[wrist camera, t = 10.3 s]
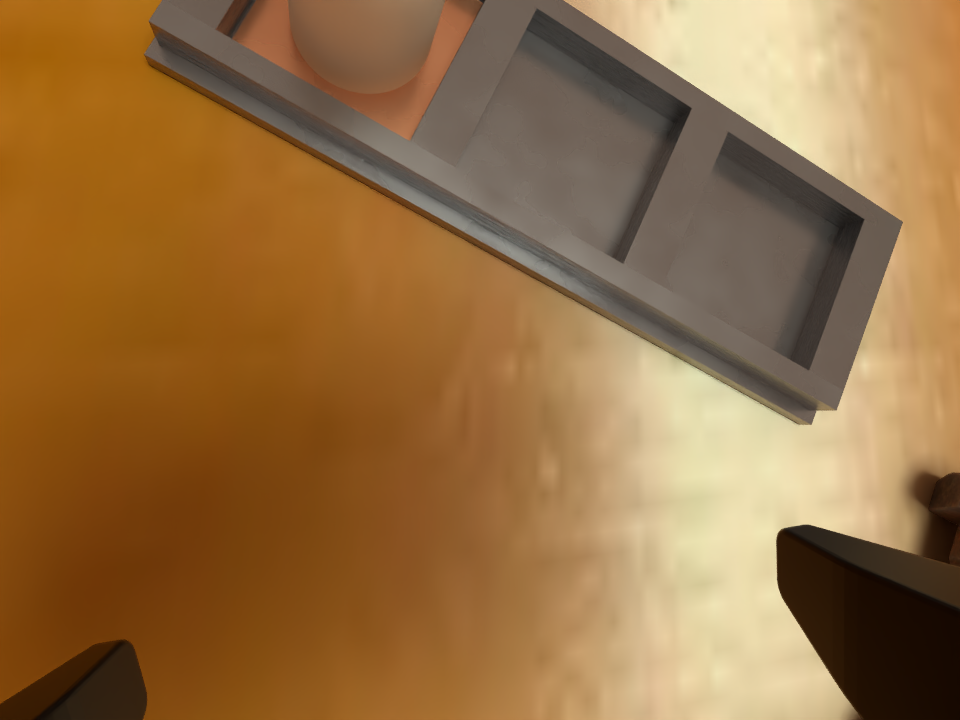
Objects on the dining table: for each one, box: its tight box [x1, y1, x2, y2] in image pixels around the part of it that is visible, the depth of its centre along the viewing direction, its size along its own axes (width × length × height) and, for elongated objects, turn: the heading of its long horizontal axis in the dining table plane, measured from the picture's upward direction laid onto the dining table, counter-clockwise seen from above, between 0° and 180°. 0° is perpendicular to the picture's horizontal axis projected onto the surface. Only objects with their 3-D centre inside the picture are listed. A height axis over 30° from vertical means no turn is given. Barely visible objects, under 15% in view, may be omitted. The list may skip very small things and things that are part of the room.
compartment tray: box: [144, 0, 903, 425], centre depth 22 cm, size 26×9×2 cm, turn 64°
